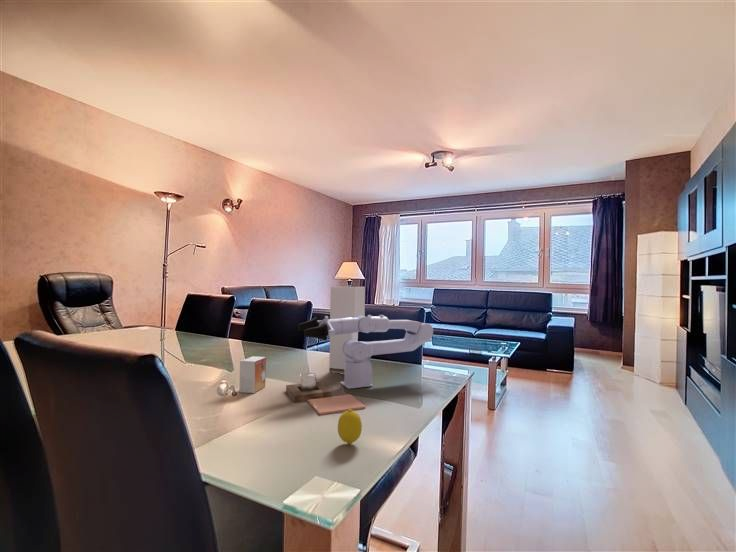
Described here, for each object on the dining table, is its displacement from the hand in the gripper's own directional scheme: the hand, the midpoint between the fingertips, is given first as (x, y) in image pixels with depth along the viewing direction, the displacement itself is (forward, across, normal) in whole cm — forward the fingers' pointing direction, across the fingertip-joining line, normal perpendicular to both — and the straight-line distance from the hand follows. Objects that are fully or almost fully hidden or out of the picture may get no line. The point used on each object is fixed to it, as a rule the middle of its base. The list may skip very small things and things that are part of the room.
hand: (301, 330), depth 122 cm
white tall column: (-24, -17, +24) cm, 38 cm away
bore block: (0, +6, +20) cm, 21 cm away
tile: (-5, +19, +19) cm, 27 cm away
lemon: (+1, +45, +15) cm, 47 cm away
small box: (+15, -6, +21) cm, 27 cm away
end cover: (0, +6, +20) cm, 21 cm away
